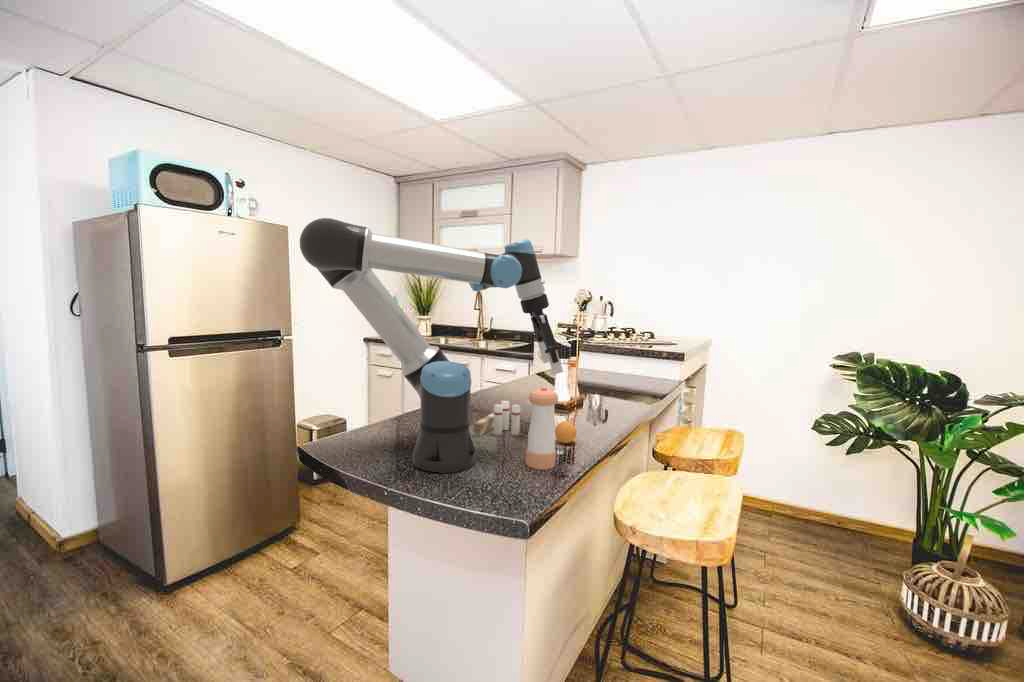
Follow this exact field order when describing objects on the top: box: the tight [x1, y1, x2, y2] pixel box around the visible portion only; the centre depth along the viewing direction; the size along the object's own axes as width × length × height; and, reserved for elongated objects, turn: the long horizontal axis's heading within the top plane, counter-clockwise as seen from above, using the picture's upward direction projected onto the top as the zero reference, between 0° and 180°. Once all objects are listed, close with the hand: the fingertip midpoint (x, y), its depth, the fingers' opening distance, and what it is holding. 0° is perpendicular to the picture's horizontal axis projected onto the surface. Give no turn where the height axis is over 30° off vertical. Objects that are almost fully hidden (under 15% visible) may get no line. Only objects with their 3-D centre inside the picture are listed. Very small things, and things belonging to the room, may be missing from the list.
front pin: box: [510, 404, 521, 436], centre depth 129 cm, size 2×2×8 cm
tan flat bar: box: [472, 411, 494, 438], centre depth 133 cm, size 14×2×4 cm, turn 157°
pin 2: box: [500, 400, 510, 431], centre depth 133 cm, size 2×2×8 cm
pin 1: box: [492, 403, 503, 436], centre depth 128 cm, size 2×2×8 cm
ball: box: [555, 420, 577, 444], centre depth 123 cm, size 6×6×6 cm
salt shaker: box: [525, 385, 559, 471], centre depth 107 cm, size 7×7×19 cm
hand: (552, 367), depth 127 cm, fingers open, 13 cm apart
